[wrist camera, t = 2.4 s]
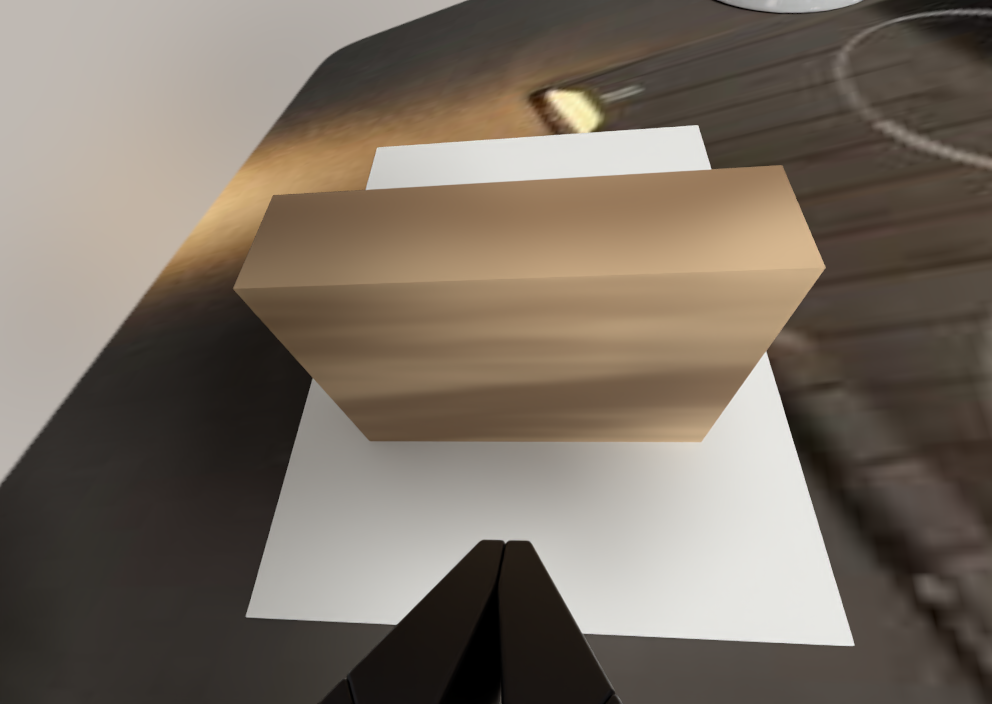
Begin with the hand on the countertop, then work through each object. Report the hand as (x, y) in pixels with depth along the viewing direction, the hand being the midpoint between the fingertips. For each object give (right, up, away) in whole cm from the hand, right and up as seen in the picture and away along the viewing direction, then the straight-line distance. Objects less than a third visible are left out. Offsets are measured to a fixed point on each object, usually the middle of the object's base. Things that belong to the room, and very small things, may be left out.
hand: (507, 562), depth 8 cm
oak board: (+1, +2, +10) cm, 10 cm away
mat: (+1, +5, +13) cm, 14 cm away
